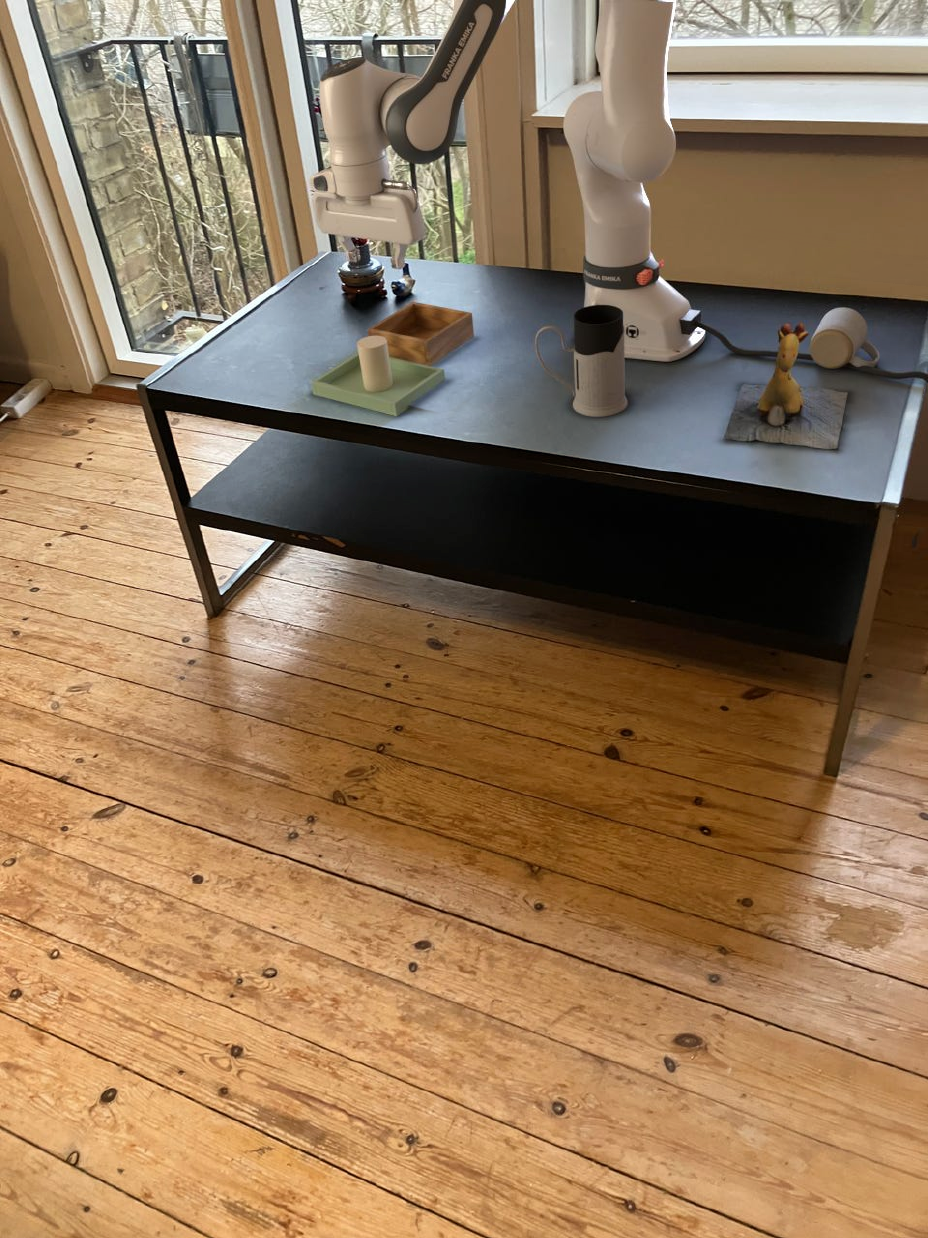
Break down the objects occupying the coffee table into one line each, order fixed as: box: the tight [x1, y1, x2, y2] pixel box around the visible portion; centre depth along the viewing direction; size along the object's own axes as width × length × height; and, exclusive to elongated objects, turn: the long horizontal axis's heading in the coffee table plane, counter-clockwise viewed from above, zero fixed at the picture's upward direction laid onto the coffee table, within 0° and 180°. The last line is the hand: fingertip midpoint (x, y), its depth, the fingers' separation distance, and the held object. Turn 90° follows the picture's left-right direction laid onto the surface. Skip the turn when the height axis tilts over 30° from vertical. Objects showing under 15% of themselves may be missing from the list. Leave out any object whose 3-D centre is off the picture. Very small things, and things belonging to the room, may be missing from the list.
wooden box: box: [366, 301, 475, 367], centre depth 190 cm, size 14×14×5 cm
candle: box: [356, 335, 393, 392], centre depth 177 cm, size 5×5×8 cm
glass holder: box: [534, 305, 628, 418], centre depth 163 cm, size 9×14×15 cm, turn 89°
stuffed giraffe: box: [723, 322, 848, 450], centre depth 154 cm, size 16×18×16 cm
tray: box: [310, 352, 446, 417], centre depth 179 cm, size 19×14×2 cm
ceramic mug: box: [809, 307, 881, 370], centre depth 168 cm, size 11×8×8 cm
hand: (376, 264), depth 171 cm, fingers open, 8 cm apart
